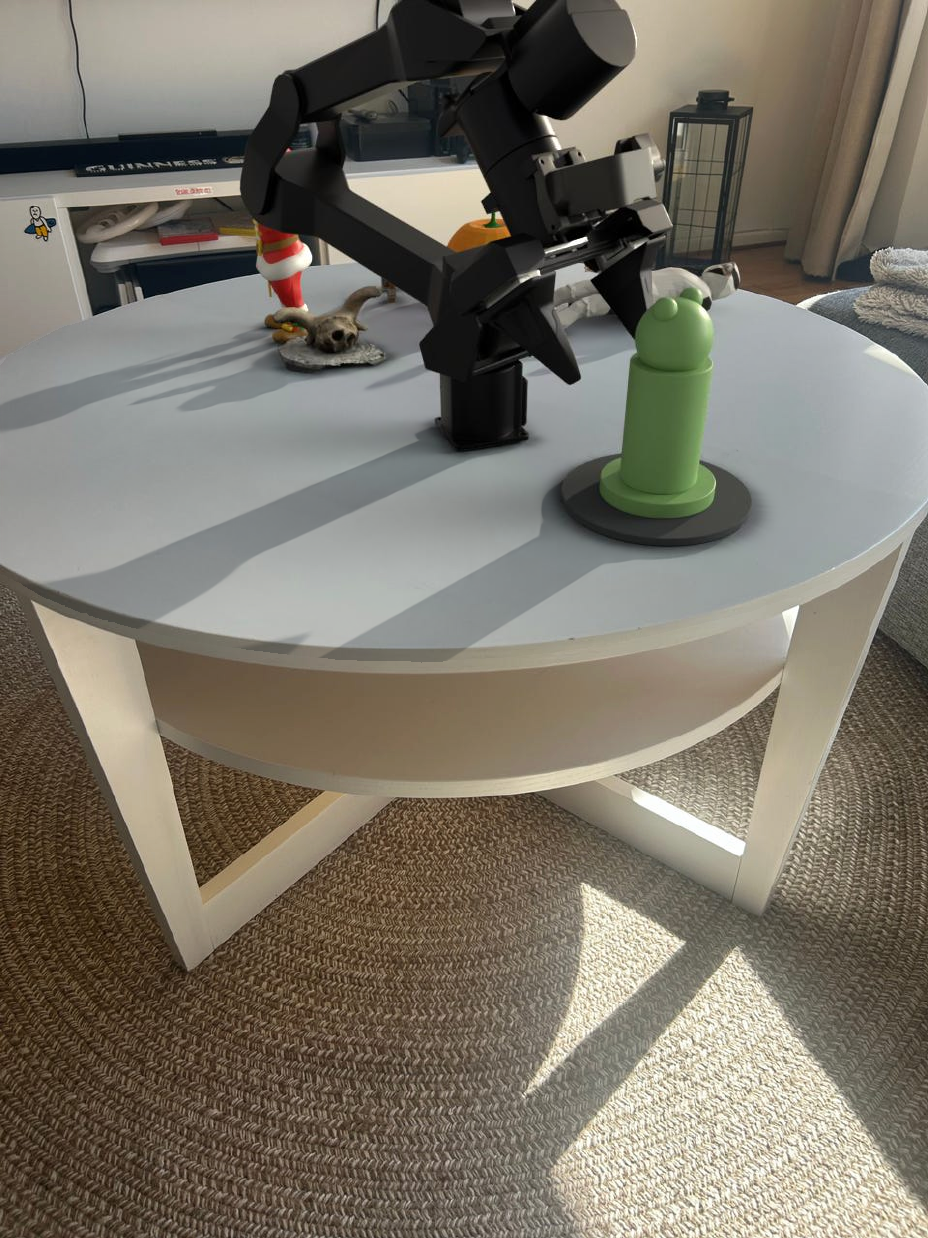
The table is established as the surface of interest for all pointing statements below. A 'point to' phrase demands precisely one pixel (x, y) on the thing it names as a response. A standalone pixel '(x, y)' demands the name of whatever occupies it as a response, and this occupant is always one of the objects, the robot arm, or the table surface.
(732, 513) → the mat
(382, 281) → the wooden post with brackets
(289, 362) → the skull
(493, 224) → the fruit
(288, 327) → the santa figurine
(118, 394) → the table surface
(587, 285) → the figurine
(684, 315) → the toy
